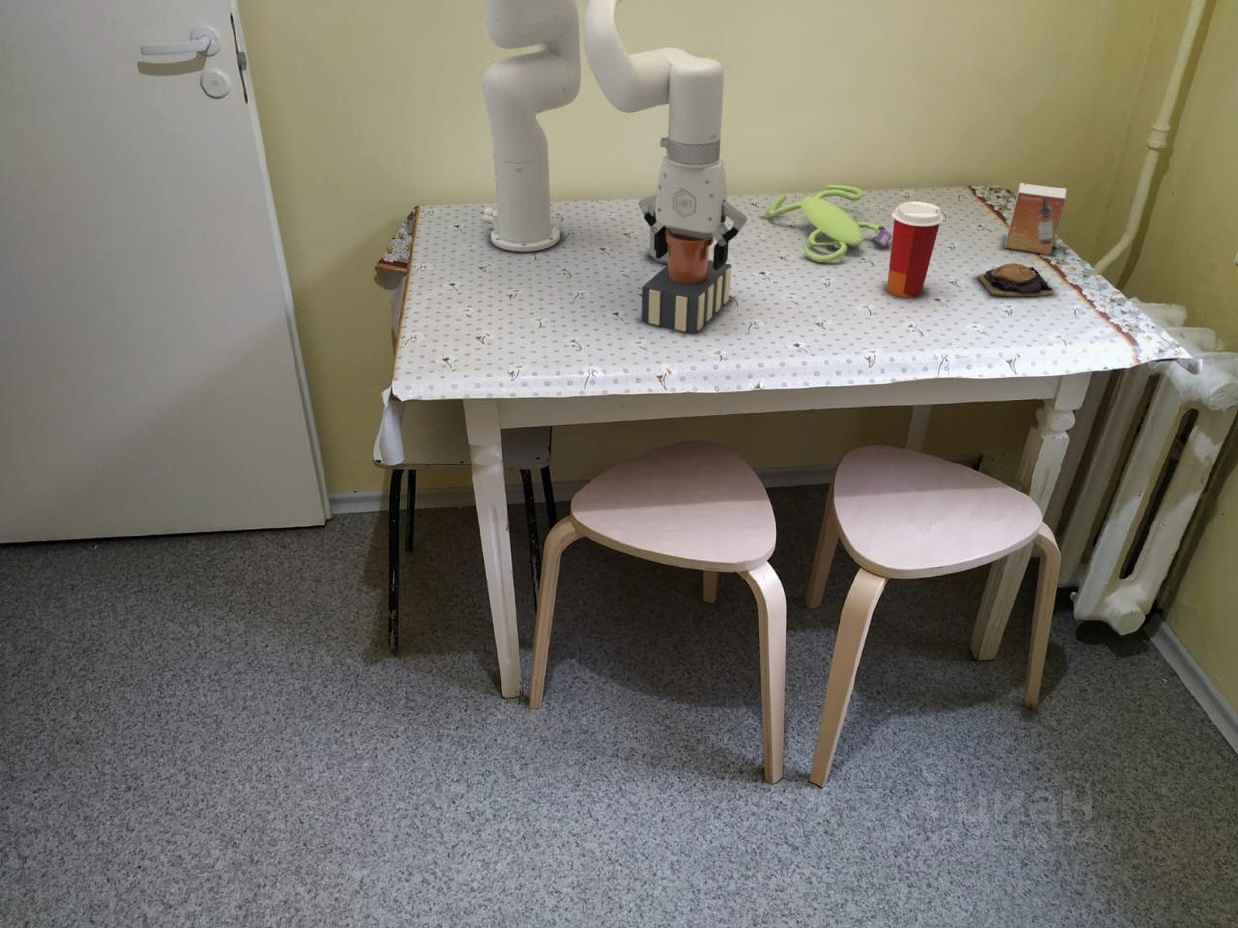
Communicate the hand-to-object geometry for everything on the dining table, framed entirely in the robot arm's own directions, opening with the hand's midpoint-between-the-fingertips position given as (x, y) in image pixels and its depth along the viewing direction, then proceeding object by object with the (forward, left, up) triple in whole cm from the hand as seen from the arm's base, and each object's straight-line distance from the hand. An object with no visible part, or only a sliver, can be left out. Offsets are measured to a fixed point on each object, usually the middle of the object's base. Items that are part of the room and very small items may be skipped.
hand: (690, 261), depth 153 cm
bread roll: (+45, +34, -9) cm, 57 cm away
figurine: (+10, +42, -9) cm, 44 cm away
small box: (+44, +52, -9) cm, 69 cm away
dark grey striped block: (0, 0, -9) cm, 8 cm away
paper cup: (+29, +24, -9) cm, 38 cm away
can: (-11, +18, -9) cm, 23 cm away
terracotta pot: (0, 0, -3) cm, 2 cm away
